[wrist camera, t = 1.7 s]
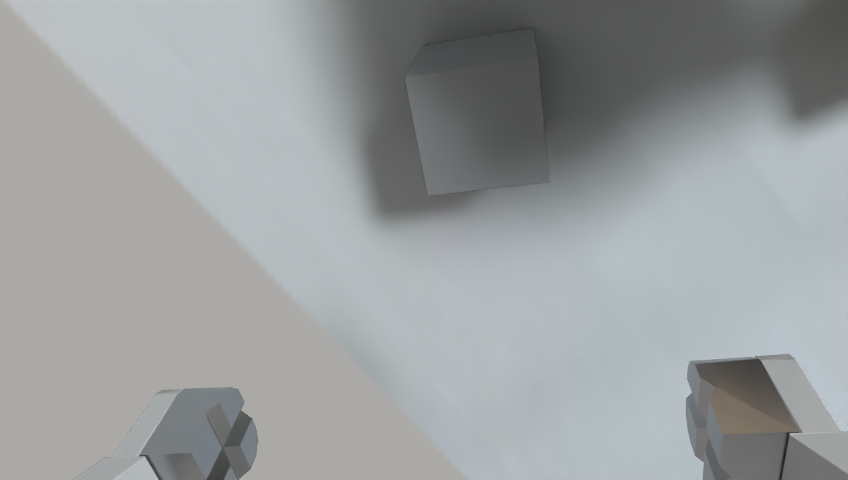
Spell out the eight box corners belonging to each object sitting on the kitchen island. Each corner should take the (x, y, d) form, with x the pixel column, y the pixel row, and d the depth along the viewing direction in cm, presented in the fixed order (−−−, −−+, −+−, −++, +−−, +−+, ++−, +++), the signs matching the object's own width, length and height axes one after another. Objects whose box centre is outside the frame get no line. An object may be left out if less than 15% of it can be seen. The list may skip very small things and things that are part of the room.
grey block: (542, 134, 29) (549, 182, 24) (440, 147, 30) (427, 195, 25) (533, 26, 26) (538, 57, 22) (422, 44, 27) (404, 77, 23)
